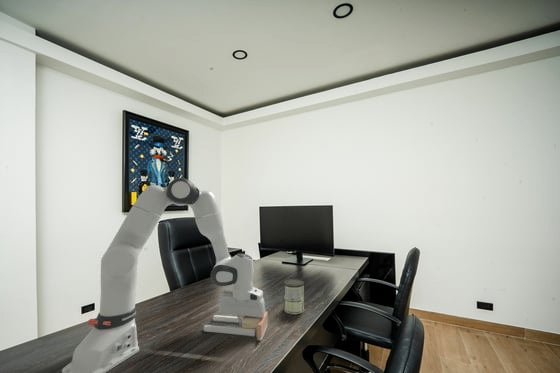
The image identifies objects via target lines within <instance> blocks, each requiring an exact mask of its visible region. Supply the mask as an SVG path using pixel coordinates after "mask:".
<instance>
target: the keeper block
mask: <svg viewBox="0 0 560 373" xmlns="http://www.w3.org/2000/svg"><path fill="white" fill-rule="evenodd" d="M259 319H260V318H259V317H250V316H244V318H243V319H242V326H241V328H245V329H255V335H256V334H257V323H258V321H259Z"/></svg>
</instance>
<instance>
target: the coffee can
mask: <svg viewBox="0 0 560 373" xmlns="http://www.w3.org/2000/svg"><path fill="white" fill-rule="evenodd" d="M304 285H305V282H304V281H303V280H302V279H297V278H290V279H285V280H284V281H283V288H284V289H283V290H284V291H283V292H284V294H283V295H284V296H283V303H284V304H283V307H284V308H283V310H284V312H285V313H286V314H289V315H299V314H302V313H304V310H305V309H304V305H305V302H304V289H305V288H304Z"/></svg>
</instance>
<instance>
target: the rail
mask: <svg viewBox="0 0 560 373" xmlns="http://www.w3.org/2000/svg"><path fill="white" fill-rule="evenodd" d="M268 317H269V312H268V311H265V314H264V316H263V317H262V318H260V319H259V321H258V323H257V334H255V329H245V328H242V326H239V325H238V321H239V320H238V318H237V316H234V315H222V314H221V315H220V314H215V315H213V318H212V322H209V323H208V324H205V325H204V326H203V329H202V330H201V332H202V333H212V334H219V335H220V334H221V335H224V334H225V335H230V336H232V335H233V336H238V337H241V336H242V337H250V338H256V341H262V340H263V339H264V338H263V337H264V334H265V332H266V330H267V328H268V325H269V324H268V323H269V321H268V319H269V318H268Z"/></svg>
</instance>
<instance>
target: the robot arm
mask: <svg viewBox="0 0 560 373" xmlns="http://www.w3.org/2000/svg"><path fill="white" fill-rule="evenodd" d="M169 205H170V206H179V207H181V206H182V207H183V206H189V207H190V209H191V210H192V212H193V215H194V218H195V219H194V220H195V224H196V226H197V228H198V231H199V233H200V234H201V235H202V236H205V237H206V238H207V239H208V240H209V241H210V243H211V246H212V250H213V253H214V255H215V265H214V266H213V268H212V269H211V271H210V280H211V282H212V283H213V284H214V285H215V286H217V287H226V286H231V285H232V290H223V291H221V292H219V305H218V312H219V313H220V314H223V315H231V316H236V317H237V318H238V320H239V321H238V323H237V324H238V325H237V326H238V327H239V326H241V327H242V319H243V318H244V316H250V317H259V318H262V317H263V316H264V314H265V312H266V303H265V299H264V297H263V295H264V291H263V290H262V289H260V288H257V287H255V286H254V282H253V278H254V269H255V268H254V260H253V257H252V256H250V255H248V254H246V253H237V254H236V255H234V256H232V255H231V254H230V252H229V251H230V250H229V248H228V244H227V242H226V239H225V238H226V237H225V234H224V224H223V218H222V213H221V210H220V206H219V204H218V201H217V198H216V197H215V194H214V193H213V192H212V191H210V190H200V189H199V188H198V187H197V186H196V185H195V184H194V183H193V182H192V180H189V179H187V178H184V177H179V178H174V179H173V180H171V181H170V182H169V183H168V185H167V186H165V187H164V186H163V187H162V186H160V185H157V184H156V185H155V184H151V185H148V186H146V187H145V189H144V190H143V191H142V192H141V193H140V194H139V196H138V197H137V199H136V201H134V203H133V205H132V206H131V207H130V208H131V209H130V210H129V212H128V213H127V215H126V216H125V219H124V220H123V222H122V223H121V225H120V227H119V229H118V230H117V232H116V234H115V236H114V237H113V239H112V241H111V243H110V244H109V246H108V248H107V249H106V251H105V252H104V254H103V256H102V257H101V260H100V301H99V312H98V314H97V316H96V318H95V319H94V318H89V319H88V321H87V326H91V327H93V328H92V329H91V330H90V332H89V331H88V332H89V333H87V335H86V336H85V337H84V338H83V340H82V341H81V342H80V343H79V344H78V345H77V346H76V348H75V349H74V351H73V354H72V360H71V361H70V363H68V364H66V366H63V368H62V369H61V372H62V373H107V372H109V371H110V370H112V369H113V368H115V367H116V366H118V365H119V364H122V363H123V362H125V361H126V360H127V359H130V357H132V356H134V355H136V354H137V353H139V352H140V347H139V345H138V344H139V341H138V332H137V330H138V329H137V324H136V317H137V306H136V294H137V292H136V291H137V279H138V278H137V277H138V276H137V275H138V272H137V271H138V262H139V261H138V259H139V258H138V257H139V255H140V254H141V252H142V250H143V247H145V244H146V243H147V241H148V240H149V238H150V236H152V233H153V231H154V230H155V228H156V226H157V224H158V223H159V220H160V218H161V217H162V215H163V213H164V212H165V210H166V208H167V207H168V206H169Z"/></svg>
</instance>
